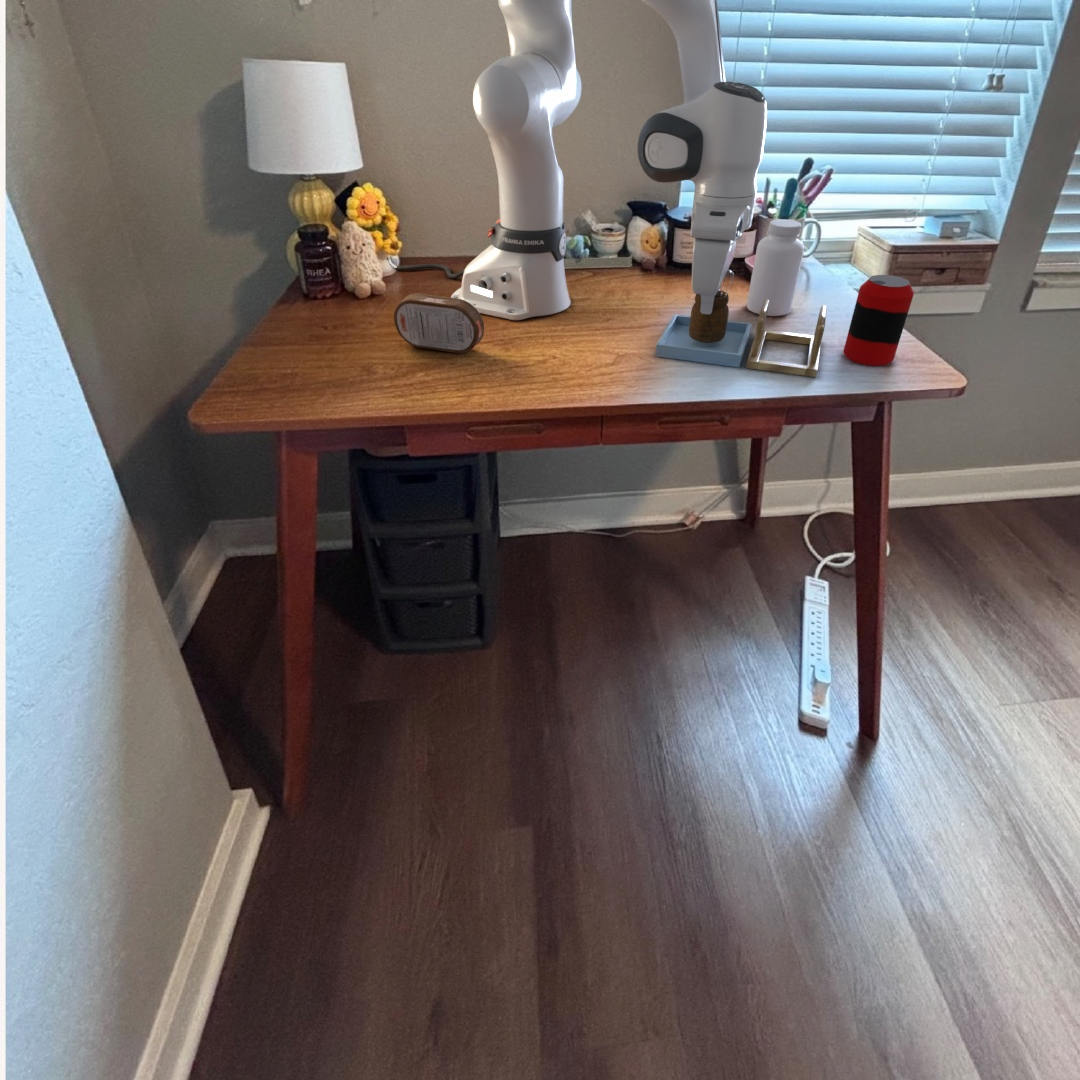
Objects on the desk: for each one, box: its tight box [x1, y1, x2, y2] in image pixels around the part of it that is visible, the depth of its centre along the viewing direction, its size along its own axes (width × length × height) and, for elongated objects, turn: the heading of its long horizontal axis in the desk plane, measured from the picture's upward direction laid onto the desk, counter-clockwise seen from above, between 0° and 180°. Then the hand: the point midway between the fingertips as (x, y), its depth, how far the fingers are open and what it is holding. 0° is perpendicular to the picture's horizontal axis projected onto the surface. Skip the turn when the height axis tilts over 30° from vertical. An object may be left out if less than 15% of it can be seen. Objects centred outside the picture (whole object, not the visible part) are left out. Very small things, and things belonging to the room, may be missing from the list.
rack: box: [745, 299, 828, 378], centre depth 113 cm, size 10×14×7 cm
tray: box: [654, 314, 753, 368], centre depth 118 cm, size 13×14×2 cm
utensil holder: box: [689, 268, 735, 343], centre depth 114 cm, size 6×6×12 cm
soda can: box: [842, 274, 915, 367], centre depth 111 cm, size 8×8×12 cm
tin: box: [393, 292, 485, 354], centre depth 116 cm, size 15×3×8 cm, turn 71°
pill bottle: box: [746, 218, 805, 317], centre depth 127 cm, size 8×8×15 cm
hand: (709, 305), depth 115 cm, fingers closed on utensil holder, 5 cm apart
